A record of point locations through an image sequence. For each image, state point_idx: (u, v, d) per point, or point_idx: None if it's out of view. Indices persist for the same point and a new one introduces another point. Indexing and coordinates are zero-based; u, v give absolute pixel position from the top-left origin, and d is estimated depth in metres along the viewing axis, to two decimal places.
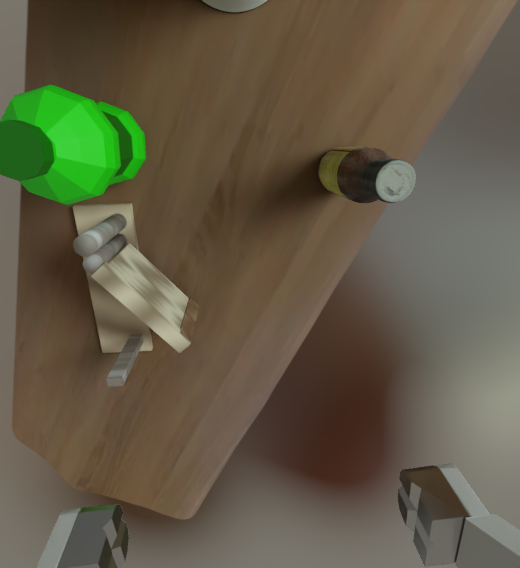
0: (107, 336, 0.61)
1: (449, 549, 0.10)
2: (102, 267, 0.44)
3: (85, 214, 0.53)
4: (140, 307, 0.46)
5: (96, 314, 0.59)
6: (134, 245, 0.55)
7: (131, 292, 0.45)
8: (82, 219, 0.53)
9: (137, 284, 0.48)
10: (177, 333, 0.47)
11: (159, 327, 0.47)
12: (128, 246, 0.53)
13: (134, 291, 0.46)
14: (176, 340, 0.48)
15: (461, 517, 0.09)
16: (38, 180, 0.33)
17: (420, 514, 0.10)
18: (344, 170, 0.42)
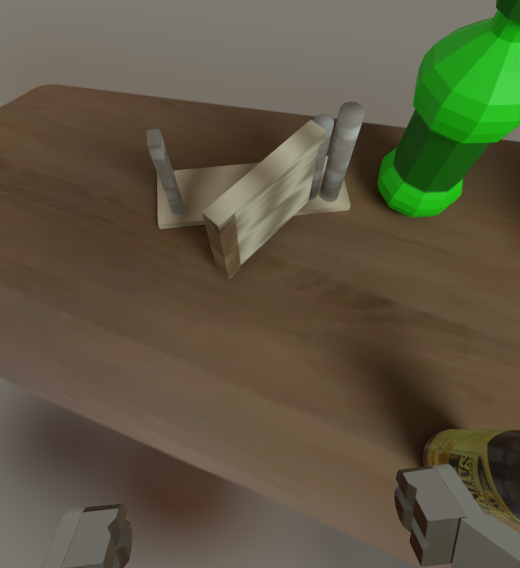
0: (180, 177, 0.48)
1: (445, 549, 0.10)
2: (323, 130, 0.36)
3: None
4: (273, 166, 0.34)
5: (210, 168, 0.49)
6: (302, 208, 0.47)
7: (294, 157, 0.34)
8: (325, 162, 0.49)
9: (289, 178, 0.37)
10: (235, 209, 0.32)
11: (244, 187, 0.33)
12: (308, 196, 0.45)
13: (293, 163, 0.35)
14: (223, 207, 0.32)
15: (457, 517, 0.09)
16: (467, 37, 0.30)
17: (416, 514, 0.10)
18: None
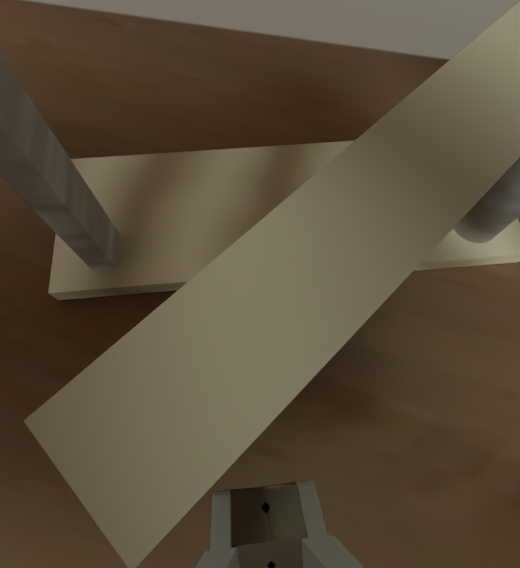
0: (117, 173, 0.21)
1: None
2: None
3: None
4: (487, 118, 0.06)
5: (191, 155, 0.21)
6: None
7: None
8: None
9: None
10: (276, 400, 0.04)
11: (330, 235, 0.05)
12: None
13: None
14: (190, 387, 0.04)
15: (298, 538, 0.09)
16: None
17: None
18: None
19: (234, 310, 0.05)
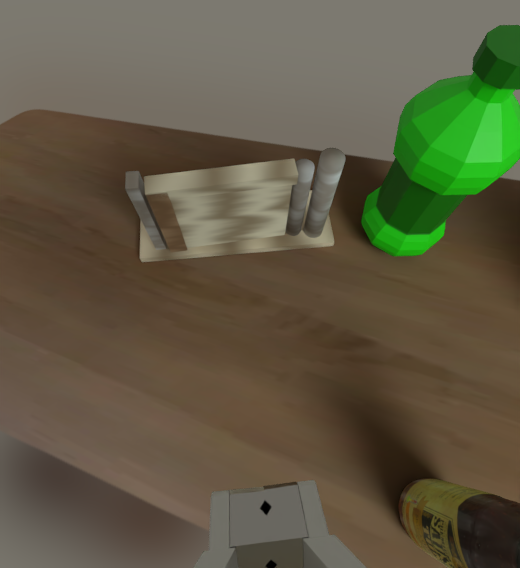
0: None
1: None
2: (296, 173, 0.36)
3: None
4: (228, 176, 0.35)
5: None
6: (286, 244, 0.46)
7: (250, 180, 0.35)
8: (311, 196, 0.49)
9: (249, 198, 0.38)
10: (169, 189, 0.35)
11: (191, 178, 0.35)
12: (283, 229, 0.45)
13: (248, 184, 0.36)
14: (161, 183, 0.35)
15: (300, 538, 0.09)
16: (445, 93, 0.30)
17: None
18: (509, 501, 0.26)
19: (172, 179, 0.35)
